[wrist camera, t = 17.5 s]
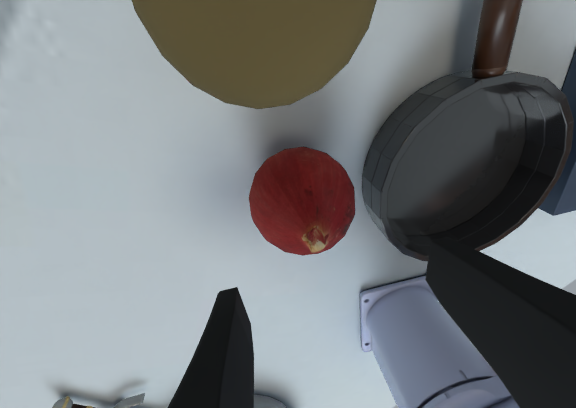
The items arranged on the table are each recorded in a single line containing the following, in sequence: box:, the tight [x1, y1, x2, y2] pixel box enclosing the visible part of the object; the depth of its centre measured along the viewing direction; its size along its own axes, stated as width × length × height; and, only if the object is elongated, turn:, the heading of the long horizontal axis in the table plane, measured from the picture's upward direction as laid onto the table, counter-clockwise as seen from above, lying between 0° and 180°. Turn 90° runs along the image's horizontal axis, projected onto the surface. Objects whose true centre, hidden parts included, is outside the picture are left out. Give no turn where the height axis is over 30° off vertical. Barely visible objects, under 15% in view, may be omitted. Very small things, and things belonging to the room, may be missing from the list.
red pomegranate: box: [249, 147, 355, 255], centre depth 15 cm, size 6×6×8 cm
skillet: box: [362, 71, 574, 261], centre depth 19 cm, size 13×13×3 cm
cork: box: [132, 0, 377, 109], centre depth 9 cm, size 6×6×11 cm
